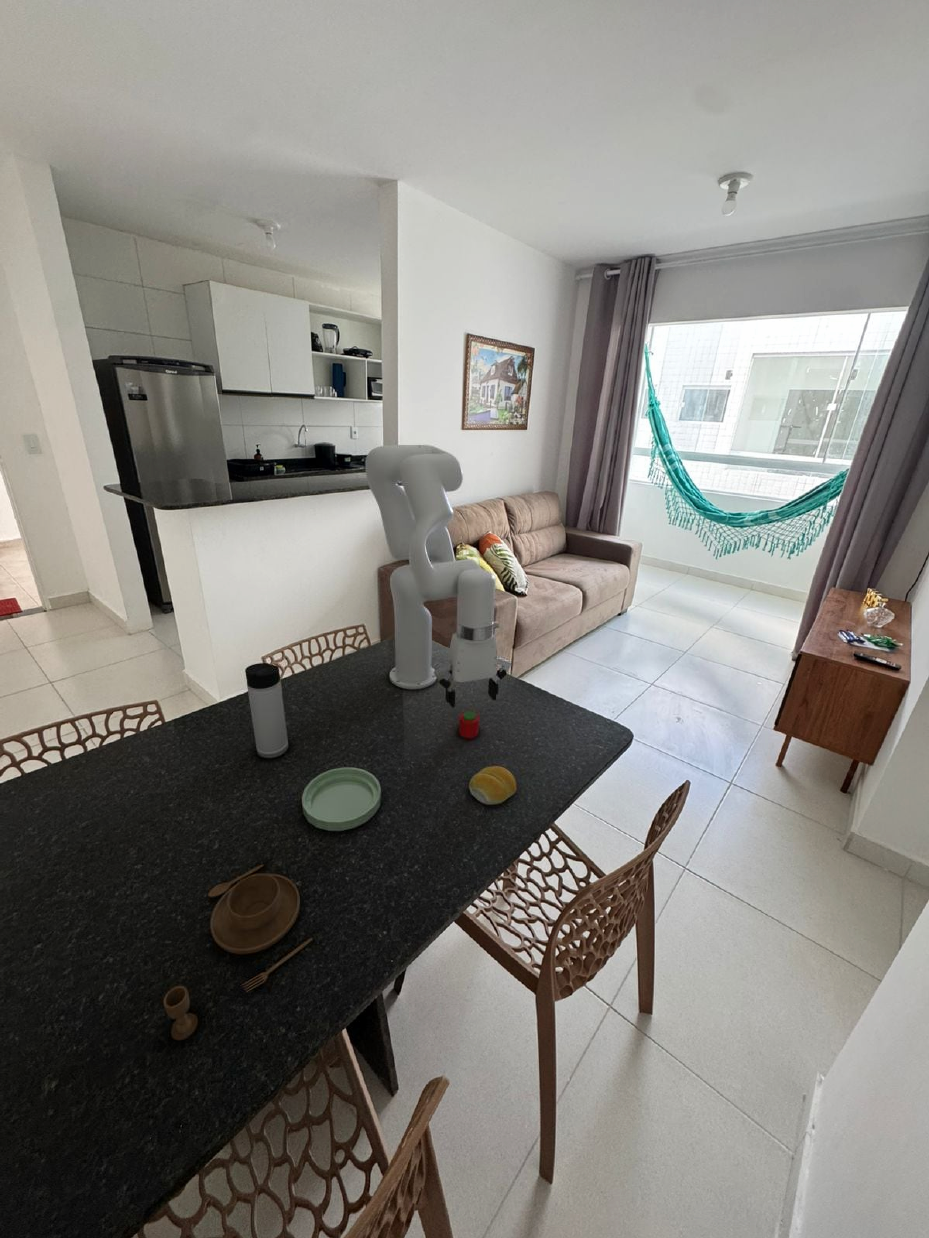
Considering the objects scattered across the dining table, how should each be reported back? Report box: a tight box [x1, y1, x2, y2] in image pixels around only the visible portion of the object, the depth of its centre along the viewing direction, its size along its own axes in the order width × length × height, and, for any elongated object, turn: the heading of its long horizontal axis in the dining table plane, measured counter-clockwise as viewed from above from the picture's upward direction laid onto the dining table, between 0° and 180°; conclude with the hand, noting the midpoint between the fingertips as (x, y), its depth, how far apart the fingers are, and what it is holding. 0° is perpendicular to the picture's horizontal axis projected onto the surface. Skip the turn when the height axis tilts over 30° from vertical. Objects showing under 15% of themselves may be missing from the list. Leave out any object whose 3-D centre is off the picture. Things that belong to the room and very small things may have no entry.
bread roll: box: [468, 765, 517, 806], centre depth 99 cm, size 8×9×4 cm
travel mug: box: [244, 662, 289, 759], centre depth 104 cm, size 6×7×20 cm
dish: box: [301, 766, 382, 832], centre depth 94 cm, size 14×14×3 cm
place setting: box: [163, 864, 313, 1041], centre depth 70 cm, size 18×20×6 cm
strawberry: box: [458, 711, 480, 739], centre depth 115 cm, size 4×4×5 cm
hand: (471, 700), depth 112 cm, fingers open, 9 cm apart
